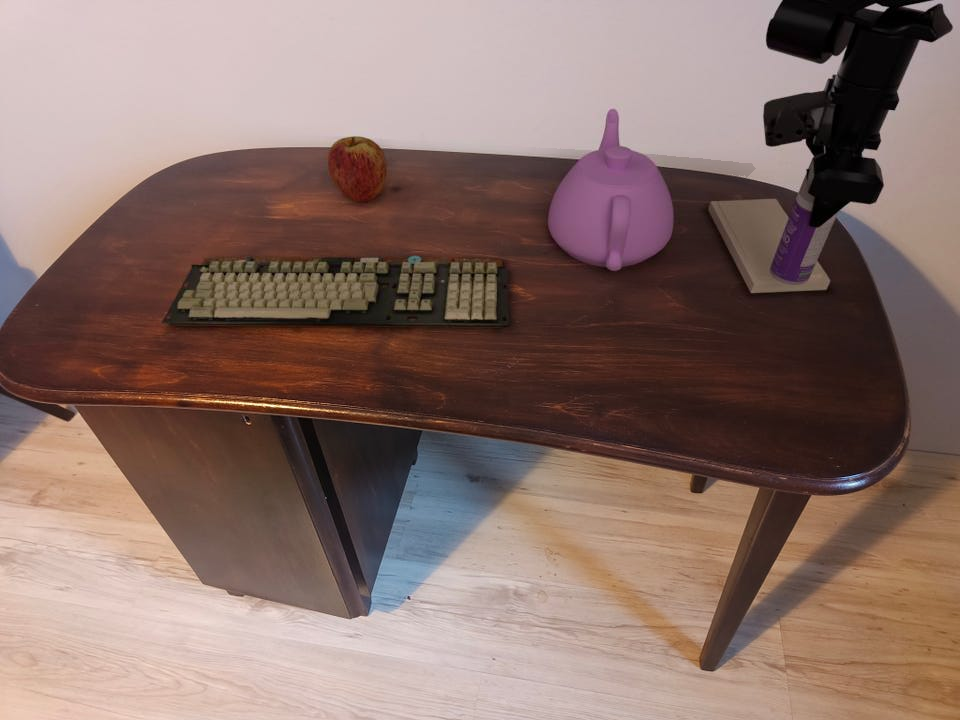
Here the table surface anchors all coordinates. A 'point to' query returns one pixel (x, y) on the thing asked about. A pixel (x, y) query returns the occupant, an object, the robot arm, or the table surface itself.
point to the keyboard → (343, 292)
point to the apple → (357, 167)
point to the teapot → (612, 206)
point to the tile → (758, 242)
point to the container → (800, 241)
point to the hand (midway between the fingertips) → (813, 214)
